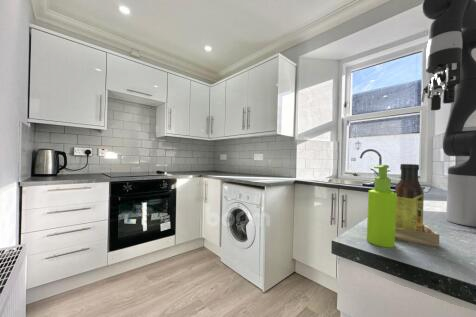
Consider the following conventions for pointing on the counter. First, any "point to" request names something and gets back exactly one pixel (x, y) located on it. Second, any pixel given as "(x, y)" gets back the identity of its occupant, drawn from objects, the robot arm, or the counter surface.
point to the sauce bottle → (409, 199)
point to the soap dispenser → (381, 211)
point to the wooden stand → (418, 236)
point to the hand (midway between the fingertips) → (441, 106)
